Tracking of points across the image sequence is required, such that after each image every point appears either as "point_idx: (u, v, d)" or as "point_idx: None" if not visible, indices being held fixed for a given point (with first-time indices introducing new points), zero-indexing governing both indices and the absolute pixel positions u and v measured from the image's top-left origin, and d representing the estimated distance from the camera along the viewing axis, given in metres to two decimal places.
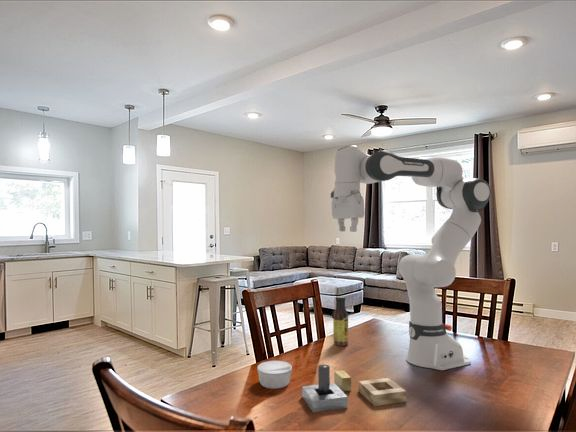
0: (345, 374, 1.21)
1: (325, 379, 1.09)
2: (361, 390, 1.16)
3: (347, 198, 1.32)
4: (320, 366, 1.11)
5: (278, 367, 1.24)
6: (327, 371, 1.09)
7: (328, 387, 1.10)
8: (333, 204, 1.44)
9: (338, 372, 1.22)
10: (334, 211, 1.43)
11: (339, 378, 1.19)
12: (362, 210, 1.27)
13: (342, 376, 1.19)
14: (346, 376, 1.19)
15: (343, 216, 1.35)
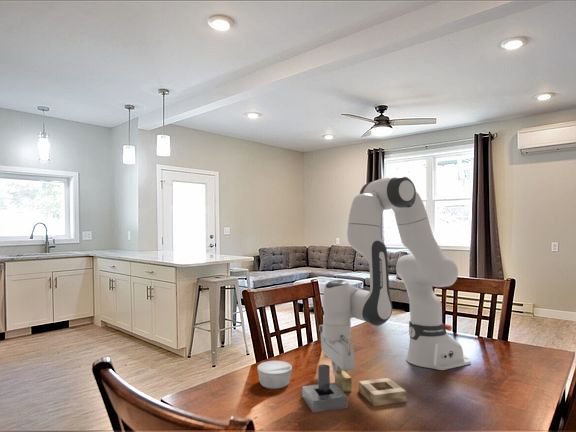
0: (345, 374, 1.20)
1: (325, 379, 1.09)
2: (361, 390, 1.16)
3: (336, 343, 1.21)
4: (320, 366, 1.11)
5: (278, 367, 1.24)
6: (327, 371, 1.10)
7: (328, 387, 1.10)
8: (322, 337, 1.32)
9: (338, 372, 1.22)
10: (323, 345, 1.32)
11: (339, 378, 1.19)
12: (352, 363, 1.15)
13: (342, 376, 1.19)
14: (346, 376, 1.19)
15: (332, 359, 1.23)
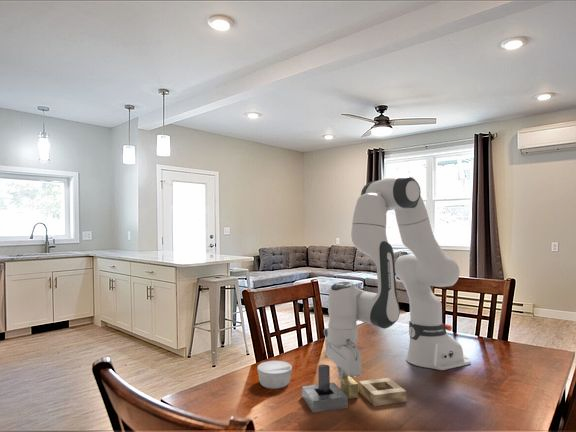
0: (352, 380, 1.16)
1: (325, 379, 1.09)
2: (361, 390, 1.16)
3: (342, 348, 1.16)
4: (320, 366, 1.11)
5: (278, 367, 1.24)
6: (327, 371, 1.10)
7: (328, 387, 1.10)
8: (327, 341, 1.28)
9: (344, 378, 1.17)
10: (328, 349, 1.27)
11: (346, 384, 1.14)
12: (359, 368, 1.11)
13: (349, 382, 1.14)
14: (353, 382, 1.14)
15: (338, 364, 1.19)
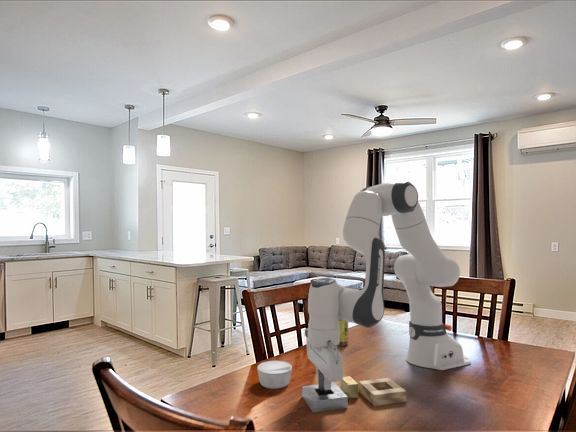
0: (352, 380, 1.16)
1: None
2: (361, 390, 1.16)
3: (322, 350, 1.06)
4: None
5: (278, 367, 1.24)
6: None
7: None
8: (308, 342, 1.18)
9: (344, 378, 1.17)
10: (309, 351, 1.18)
11: (346, 384, 1.14)
12: (340, 373, 1.01)
13: (349, 382, 1.14)
14: (353, 382, 1.14)
15: (319, 368, 1.09)
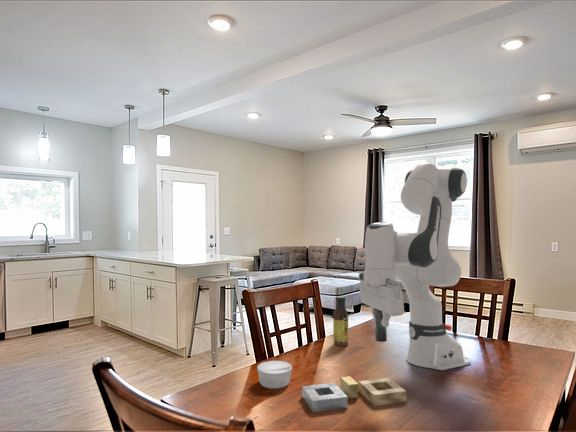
0: (352, 380, 1.16)
1: (382, 317, 1.13)
2: (361, 390, 1.16)
3: (381, 288, 1.10)
4: None
5: (278, 367, 1.24)
6: None
7: None
8: (362, 286, 1.22)
9: (344, 378, 1.17)
10: (363, 295, 1.22)
11: (346, 384, 1.14)
12: (401, 307, 1.05)
13: (349, 382, 1.14)
14: (353, 382, 1.14)
15: (376, 307, 1.13)
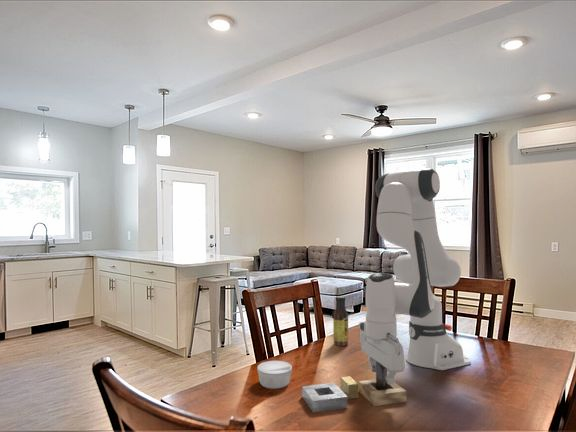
0: (352, 380, 1.16)
1: (383, 374, 1.13)
2: (361, 390, 1.16)
3: (382, 342, 1.10)
4: None
5: (278, 367, 1.24)
6: None
7: (386, 382, 1.13)
8: (362, 336, 1.22)
9: (344, 378, 1.17)
10: (364, 344, 1.21)
11: (346, 384, 1.14)
12: (402, 364, 1.05)
13: (349, 382, 1.14)
14: (353, 382, 1.14)
15: (377, 360, 1.13)
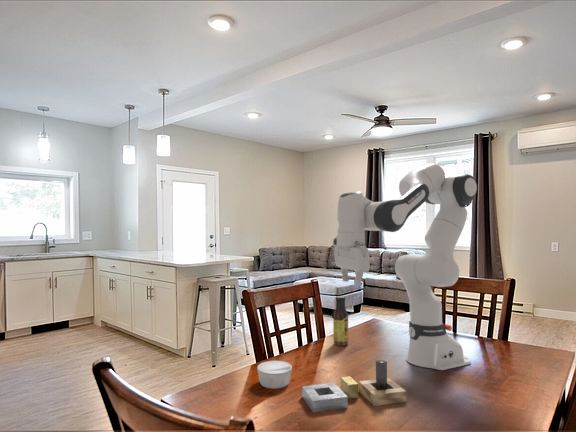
0: (352, 380, 1.16)
1: (383, 374, 1.13)
2: (361, 390, 1.16)
3: (351, 249, 1.23)
4: (377, 361, 1.14)
5: (278, 367, 1.24)
6: (385, 366, 1.13)
7: (386, 382, 1.13)
8: (336, 251, 1.35)
9: (344, 378, 1.17)
10: (337, 259, 1.35)
11: (346, 384, 1.14)
12: (367, 264, 1.18)
13: (349, 382, 1.14)
14: (353, 382, 1.14)
15: (347, 267, 1.26)
